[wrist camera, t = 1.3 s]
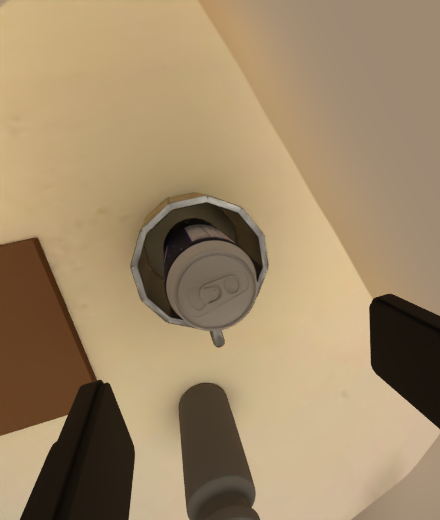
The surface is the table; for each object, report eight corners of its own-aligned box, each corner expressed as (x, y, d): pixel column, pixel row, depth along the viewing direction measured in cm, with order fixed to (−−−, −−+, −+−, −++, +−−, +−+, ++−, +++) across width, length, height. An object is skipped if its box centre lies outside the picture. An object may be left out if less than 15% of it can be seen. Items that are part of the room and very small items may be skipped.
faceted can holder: (126, 206, 24) (113, 214, 17) (232, 184, 25) (257, 184, 19) (163, 328, 28) (163, 372, 21) (252, 303, 29) (278, 337, 23)
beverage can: (154, 229, 25) (148, 265, 14) (210, 209, 26) (249, 228, 14) (175, 281, 27) (186, 351, 16) (227, 261, 27) (274, 315, 16)
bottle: (170, 417, 31) (177, 611, 17) (191, 377, 30) (217, 546, 16) (214, 427, 33) (253, 609, 19) (235, 389, 32) (293, 550, 18)
